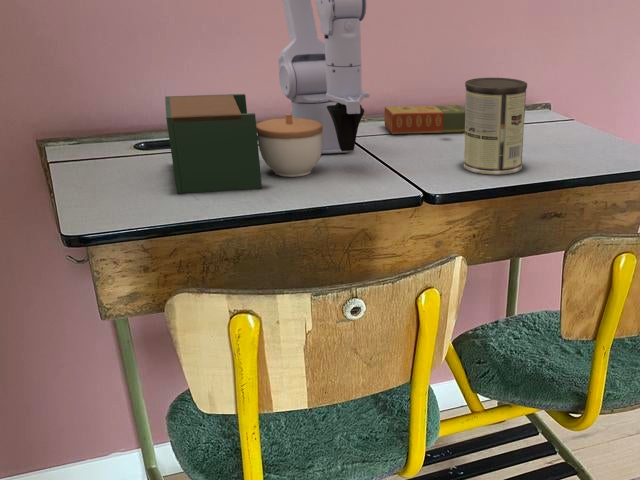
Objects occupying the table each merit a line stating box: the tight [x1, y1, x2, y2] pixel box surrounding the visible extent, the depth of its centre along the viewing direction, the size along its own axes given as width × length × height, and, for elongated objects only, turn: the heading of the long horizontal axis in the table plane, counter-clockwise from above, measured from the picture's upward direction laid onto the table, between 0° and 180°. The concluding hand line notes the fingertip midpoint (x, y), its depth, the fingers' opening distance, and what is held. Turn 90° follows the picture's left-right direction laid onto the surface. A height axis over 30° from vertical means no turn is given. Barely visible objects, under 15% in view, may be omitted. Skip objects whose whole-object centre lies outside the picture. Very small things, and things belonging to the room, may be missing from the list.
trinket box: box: [256, 113, 323, 178], centre depth 135 cm, size 11×11×9 cm
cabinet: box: [164, 93, 263, 194], centre depth 131 cm, size 13×17×11 cm
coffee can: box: [463, 77, 528, 175], centre depth 139 cm, size 10×10×14 cm
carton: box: [383, 104, 465, 135], centre depth 166 cm, size 8×16×4 cm, turn 105°
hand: (346, 150), depth 138 cm, fingers closed
